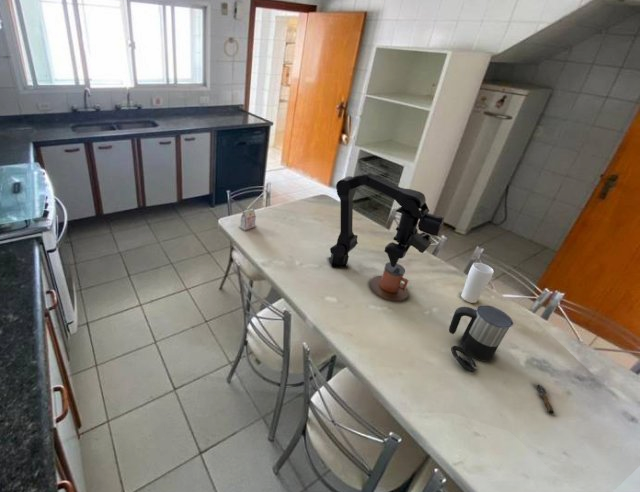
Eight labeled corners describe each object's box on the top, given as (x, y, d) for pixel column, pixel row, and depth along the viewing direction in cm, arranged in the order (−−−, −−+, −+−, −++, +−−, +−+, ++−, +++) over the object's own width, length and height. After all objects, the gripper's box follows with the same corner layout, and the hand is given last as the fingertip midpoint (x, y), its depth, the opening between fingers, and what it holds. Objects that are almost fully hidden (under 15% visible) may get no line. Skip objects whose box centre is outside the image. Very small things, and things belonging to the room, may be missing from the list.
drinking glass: (482, 306, 124) (497, 274, 117) (462, 303, 125) (477, 271, 118) (474, 294, 130) (489, 263, 123) (455, 291, 131) (469, 260, 124)
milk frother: (488, 342, 108) (506, 309, 102) (506, 384, 95) (528, 349, 88) (440, 330, 112) (455, 297, 106) (451, 368, 99) (468, 333, 92)
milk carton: (240, 227, 167) (241, 210, 163) (250, 223, 171) (251, 206, 167) (244, 230, 165) (245, 213, 160) (254, 226, 169) (256, 209, 164)
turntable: (377, 301, 124) (378, 299, 123) (364, 277, 136) (365, 275, 136) (414, 302, 124) (414, 300, 124) (397, 278, 137) (398, 276, 136)
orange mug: (376, 286, 129) (382, 267, 125) (384, 278, 134) (389, 259, 130) (400, 298, 124) (406, 279, 120) (407, 289, 128) (413, 270, 124)
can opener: (553, 414, 87) (555, 412, 87) (542, 410, 88) (544, 407, 88) (543, 387, 95) (545, 384, 94) (533, 383, 96) (535, 380, 95)
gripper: (423, 244, 107) (411, 282, 113) (439, 224, 119) (428, 260, 126) (388, 231, 113) (379, 268, 120) (407, 214, 126) (398, 249, 132)
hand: (397, 261), depth 124 cm, fingers open, 9 cm apart
